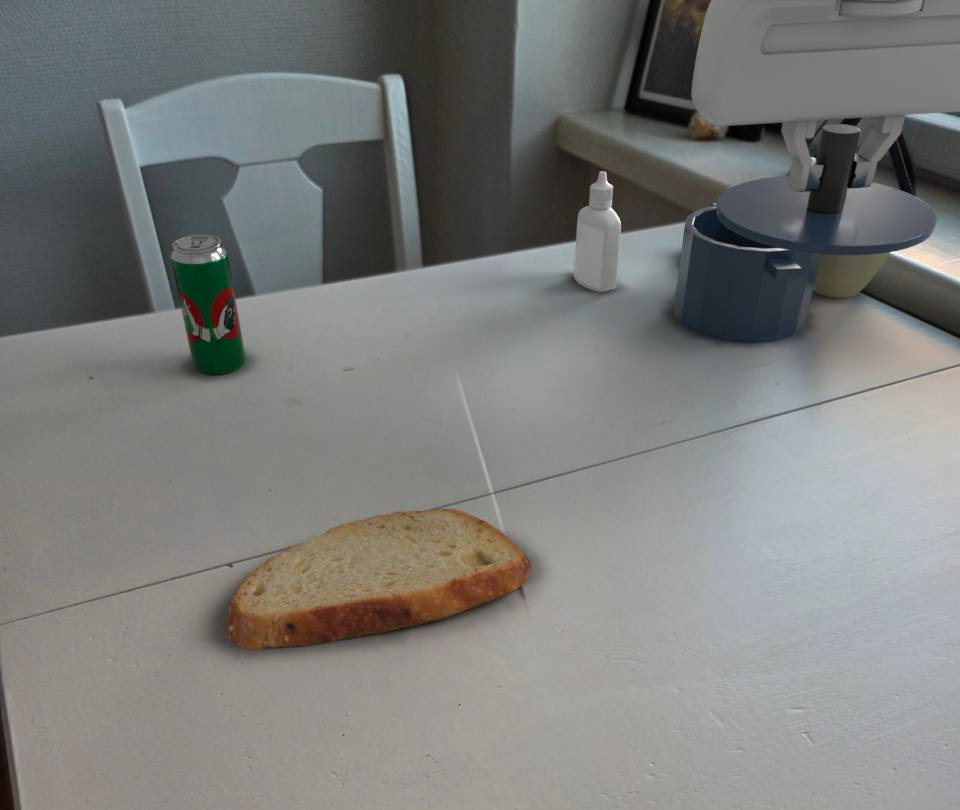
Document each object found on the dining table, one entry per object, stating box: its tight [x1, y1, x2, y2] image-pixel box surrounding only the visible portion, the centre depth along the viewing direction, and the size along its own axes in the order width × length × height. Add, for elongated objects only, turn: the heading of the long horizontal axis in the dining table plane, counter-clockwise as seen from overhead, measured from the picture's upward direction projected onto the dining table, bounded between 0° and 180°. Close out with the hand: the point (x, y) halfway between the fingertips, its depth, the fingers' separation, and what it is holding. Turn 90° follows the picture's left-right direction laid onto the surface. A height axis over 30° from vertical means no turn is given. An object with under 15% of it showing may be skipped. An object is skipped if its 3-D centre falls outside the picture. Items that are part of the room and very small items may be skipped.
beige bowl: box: [812, 252, 891, 299], centre depth 107 cm, size 10×10×7 cm
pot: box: [672, 202, 821, 344], centre depth 101 cm, size 14×19×10 cm
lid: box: [716, 123, 938, 255], centre depth 67 cm, size 15×15×6 cm
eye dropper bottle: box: [573, 170, 622, 293], centre depth 107 cm, size 4×6×12 cm
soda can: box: [170, 234, 247, 376], centre depth 92 cm, size 5×5×12 cm
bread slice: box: [225, 508, 532, 651], centre depth 68 cm, size 18×18×4 cm
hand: (828, 187), depth 67 cm, fingers closed on lid, 2 cm apart
